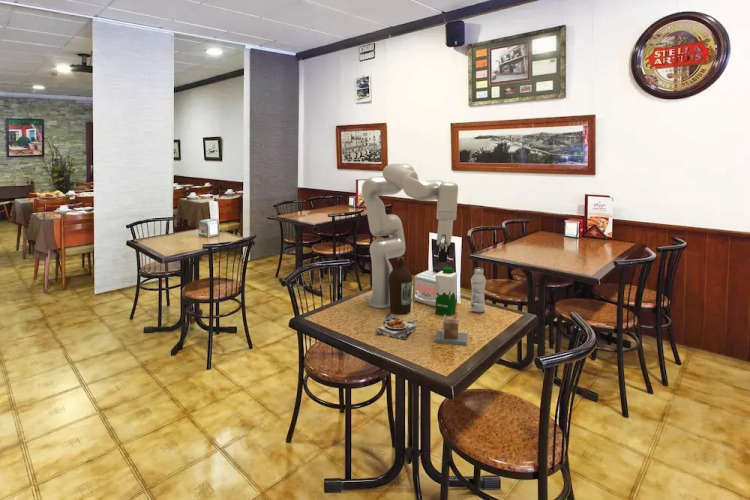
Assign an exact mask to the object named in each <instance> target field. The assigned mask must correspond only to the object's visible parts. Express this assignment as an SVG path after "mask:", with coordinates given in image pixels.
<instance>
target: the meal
mask: <svg viewBox="0 0 750 500" xmlns="http://www.w3.org/2000/svg"><path fill="white" fill-rule="evenodd" d="M417 324H418V319H415V320H408V321H405V320H401V319H400V318H399V317H397V316H392V315H391V313H387V314H386V317H385V319H384V321H383V324H382V325H381V326H379V327H378V329H374V330H375V332H376V333H377V334H380V335H381V334H383V335H385V336H386V337H392V338H393V339H394V338H395V339H397V338H398V339H402V340H406V339H407V338H408V334H410V333H413V332H414V331H415V330H416V325H417Z"/></svg>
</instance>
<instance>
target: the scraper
mask: <svg viewBox="0 0 750 500" xmlns="http://www.w3.org/2000/svg"><path fill="white" fill-rule="evenodd" d="M459 322H460V321H459V319H450V318H447V315H443V319H442V324H441V325H442V326H441V329H442V330H441V331H442V340H444V338H454V339H458V332H459Z"/></svg>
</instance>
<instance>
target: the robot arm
mask: <svg viewBox="0 0 750 500" xmlns="http://www.w3.org/2000/svg"><path fill="white" fill-rule="evenodd" d="M402 190H403V191H404V193H405V195H406V196H408V197H410V198H412V199H415V200H417V201H419V202H420V201H422V202H424V201H437V202H436V203H437V204H436V220H438V222H437V223H438V224H437V225H438V226H437V231H436V232H437V233H436V234H437V235H436V245H437V246H439V250H438V259H437V260H438V262H440V263H442V262H443V263H447V261H448V257H449V256H450V252H451V246H450V245H451V242H452V237H453V227H454V226H453V225H454V221H456V220H457V212H458V211H457V210H458V195H459V185H458V184H457V183H455V182H447V181H444V180H438V179H437V180H435V179H434V180H419V175H418V173H417V172H416V171H415V168H414V167H413V166H412V165H411V164H409V163H391V164H387V165H386V166H385V167H384V168H383V170H382V176H372V177H369V178H367V179H365V180H364V181H363V183H362V186H361V195H362V199H363V202H364V205H365V208H366V214H367V221H368V226H369V232H370V233H371V235H373V237H382V236H388V237H384V238H378V239H375V240H373V241H372V242H371V244H369V245H370V246H369V254H370V259H371V273H372V275H371V277H372V281H371V284H372V285H371V287H372V290H371V291H372V292H371V293H372V294H363V295H364V296H363V299H364V300H365V301H369V304H368V305H369V307H371V308H375V309H383V310H384V309H390V294H389V275H390V273H391V271H392V270H393V266H392V263H391V262H390V260H389V259H395V258H397V257H403V255H404V254H405V252H406V241H405V239H406V238H405V233H404V227H403V223H402V220H401V218H400V217H399V216H398V215H396V214H391V213H389V214H387V213H386V207H385V204H384V202H383V200H382V199H381V198H380V196H390V195H396V194H398V193H400V192H401V191H402Z"/></svg>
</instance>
